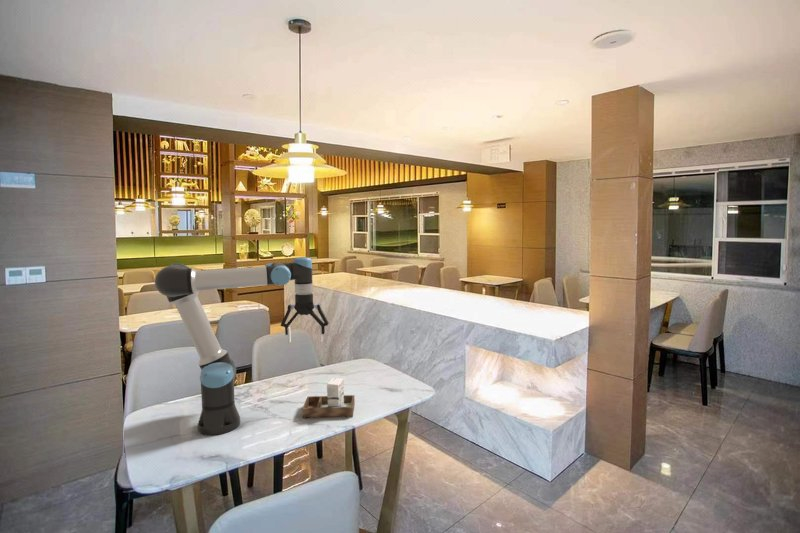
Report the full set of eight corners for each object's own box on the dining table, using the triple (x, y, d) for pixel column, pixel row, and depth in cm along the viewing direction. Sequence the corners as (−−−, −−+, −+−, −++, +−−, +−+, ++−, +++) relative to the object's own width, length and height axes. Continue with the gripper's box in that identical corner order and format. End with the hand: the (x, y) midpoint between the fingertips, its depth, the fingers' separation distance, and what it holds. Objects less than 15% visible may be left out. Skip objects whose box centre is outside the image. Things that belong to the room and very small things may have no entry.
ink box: (339, 413, 177) (338, 384, 176) (327, 412, 178) (326, 384, 177) (344, 404, 186) (344, 377, 185) (333, 404, 187) (332, 377, 186)
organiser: (302, 418, 175) (302, 408, 175) (307, 405, 188) (307, 396, 188) (352, 417, 176) (352, 407, 176) (354, 404, 189) (354, 395, 189)
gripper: (272, 295, 184) (274, 344, 186) (332, 294, 185) (333, 343, 187) (276, 292, 191) (278, 340, 193) (334, 291, 193) (335, 339, 194)
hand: (305, 341), depth 190 cm, fingers open, 13 cm apart
